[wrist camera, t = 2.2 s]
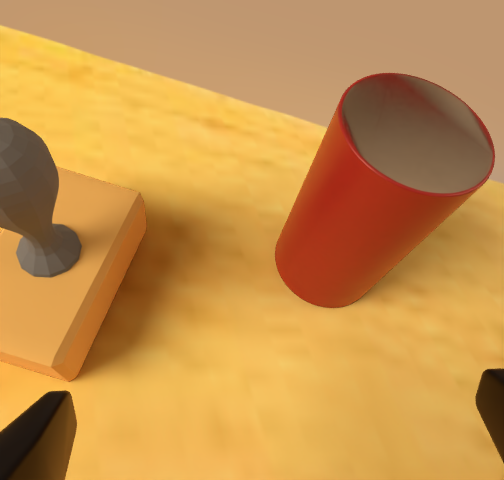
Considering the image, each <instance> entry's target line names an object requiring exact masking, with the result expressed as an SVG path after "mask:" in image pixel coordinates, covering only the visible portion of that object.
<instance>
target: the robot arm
mask: <svg viewBox="0 0 504 480" xmlns="http://www.w3.org/2000/svg"><path fill="white" fill-rule="evenodd" d="M476 406H477V409H478V411H479V413H480V415H481V417H482V419H483V421H484V423H485V426H486V428H487V430H488V432H489V434H490V436H491V438H492V440H493V442H494V444H495V446H496V448H497V450H498V452H499V454H500V457H501V459H502V461H503V463H504V369H501V368H500V369H487V370H485V371H484V372H483V374H482V377H481V380H480V383H479V387H478V390H477V393H476ZM76 428H77V420H76V415H75V410H74V406H73V401H72V396H71V394H70V392H68V391H51V392H48V393H46V394H45V395H43V396H42V397H41V398H40V399H39V400H38V401H36V402H35V403H34V404H33V405H32V406H30V407H29V408H28V409H27V410H26V411H25V412H23V413H22V414H21V415H20V416H19V417H17V418H16V419H15V420H14V421H13V422H11V423H10V424H9V425H8V426H7V427H6V428H4V429H3V430H2V431H1V432H0V480H65V476H66V472H67V468H68V464H69V459H70V455H71V451H72V447H73V442H74V438H75V434H76Z"/></svg>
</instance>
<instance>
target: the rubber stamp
mask: <svg viewBox="0 0 504 480" xmlns="http://www.w3.org/2000/svg"><path fill="white" fill-rule="evenodd" d="M0 227H1V228H3V229H2V230H1V232H0V361H3V362H6V363H9V364H12V365H16V366H19V367H22V368H25V369H29V370H32V371H35V372H38V373H42V374H45V375H48V376H51V377H55V378H58V379H61V380H64V381H68V382H70V381H71V380H72V379H74V378H75V377H77V375H78V373H79V371H80V369H81V367H82V365H83V363H84V360H85V358H86V356H87V354H88V352H89V350H90V348H91V346H92V343H93V341H94V339H95V337H96V335H97V333H98V331H99V329H100V327H101V324H102V322H103V320H104V318H105V316H106V314H107V312H108V310H109V308H110V305H111V303H112V301H113V299H114V297H115V295H116V293H117V291H118V288H119V286H120V284H121V282H122V280H123V278H124V276H125V274H126V272H127V269H128V267H129V265H130V263H131V261H132V259H133V257H134V255H135V253H136V250H137V248H138V246H139V244H140V242H141V240H142V238H143V236H144V233H145V231H146V229H147V223H146V215H145V207H144V201H143V199H142V197H141V194H140V192H136V191H133V190H130V189H127V188H124V187H120V186H117V185H114V184H111V183H108V182H104V181H101V180H98V179H95V178H92V177H88V176H85V175H82V174H79V173H76V172H73V171H69V170H66V169H63V168H60V167H57V166H55V163H54V161H53V159H52V157H51V154H50V152H49V150H48V148H47V146H46V144H45V143H44V141H43V140H42V139H41V138H40V137H39V136H38V135H37V134H36V133H34V132H33V131H31V130H30V129H28V128H26V127H25V126H23V125H21V124H19V123H18V122H16V121H13V120H11V119H8V118H0Z"/></svg>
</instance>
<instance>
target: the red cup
mask: <svg viewBox="0 0 504 480" xmlns="http://www.w3.org/2000/svg"><path fill="white" fill-rule="evenodd" d="M494 161H495V151H494V146H493V142H492V139H491V137H490V134H489V132H488V130H487V128H486V127H485V125H484V124H483V122H482V121H481V119H480V118H479V117H478V116H477V114H476V113H475V112H474V111H473V110H472V109H471V108H470V107H469V106H468V105H467V104H466V103H465V102H463V101H462V100H461V99H460V98H458V97H457V96H455V95H454V94H452V93H451V92H449V91H447V90H446V89H444V88H443V87H441V86H439V85H437V84H434V83H432V82H430V81H427V80H425V79H422V78H418V77H415V76H411V75H406V74H398V73H380V74H375V75H370V76H367V77H364V78H362V79H360V80H358V81H356V82H355V83H353V84H352V85H351V86H350V87H349V88H348V89H347V90H346V91H345V93H344V94H343V95H342V98H341V100H340V102H339V104H338V107H337V109H336V111H335V113H334V116H333V118H332V120H331V122H330V125H329V127H328V129H327V131H326V133H325V136H324V138H323V140H322V142H321V145H320V147H319V149H318V151H317V154H316V156H315V158H314V160H313V163H312V165H311V167H310V169H309V172H308V174H307V176H306V178H305V181H304V183H303V185H302V187H301V190H300V192H299V194H298V196H297V199H296V201H295V203H294V205H293V208H292V210H291V212H290V214H289V217H288V219H287V221H286V223H285V225H284V228H283V230H282V232H281V234H280V237H279V239H278V241H277V245H276V250H275V260H276V265H277V268H278V271H279V273H280V276H281V278H282V279H283V281H284V282H285V284H286V285H287V286H288V287H289V289H290V290H291V291H292V292H294V293H295V294H296V295H297V296H299V297H300V298H302V299H303V300H305V301H307V302H309V303H311V304H314V305H317V306H321V307H328V308H336V307H343V306H347V305H349V304H352V303H354V302H355V301H357V300H358V299H360V298H361V297H362V296H363V295H364V294H365V293H366V292H367V291H368V290H370V289H371V288H372V287H373V286H374V285H375V284H376V283H377V282H378V281H379V280H380V279H381V278H383V277H384V276H385V275H386V274H387V273H388V272H389V271H390V270H391V269H392V268H393V267H394V266H396V265H397V264H398V263H399V262H400V261H401V260H402V259H403V258H404V257H405V256H406V255H407V254H409V253H410V252H411V251H412V250H413V249H414V248H415V247H416V246H417V245H418V244H419V243H420V242H421V241H423V240H424V239H425V238H426V237H427V236H428V235H429V234H430V233H431V232H432V231H433V230H434V229H436V228H437V227H438V226H439V225H440V224H441V223H442V222H443V221H444V220H445V219H446V218H447V217H449V216H450V215H451V214H452V213H453V212H454V211H455V210H456V209H457V208H458V207H459V206H460V205H462V204H463V203H464V202H465V201H466V200H467V199H468V198H469V197H470V196H471V195H472V194H473V193H475V192H476V191H477V190H478V189H479V188H480V187H481V186H482V185H483V184H484V183H485V182H486V181H487V180H488V178H489V176H490V174H491V173H492V170H493V167H494Z"/></svg>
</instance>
